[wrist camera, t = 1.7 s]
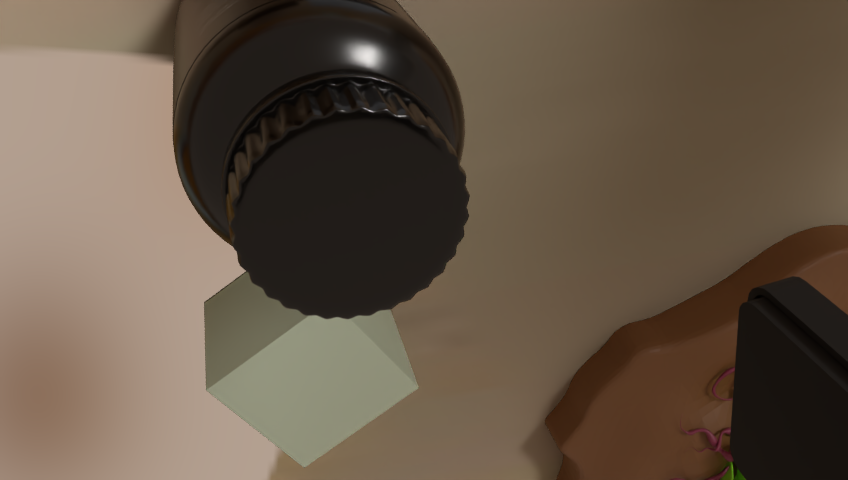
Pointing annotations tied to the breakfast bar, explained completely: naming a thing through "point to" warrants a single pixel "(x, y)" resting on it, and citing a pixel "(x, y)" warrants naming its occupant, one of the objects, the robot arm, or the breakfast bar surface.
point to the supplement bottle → (321, 147)
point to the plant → (681, 375)
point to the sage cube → (301, 369)
